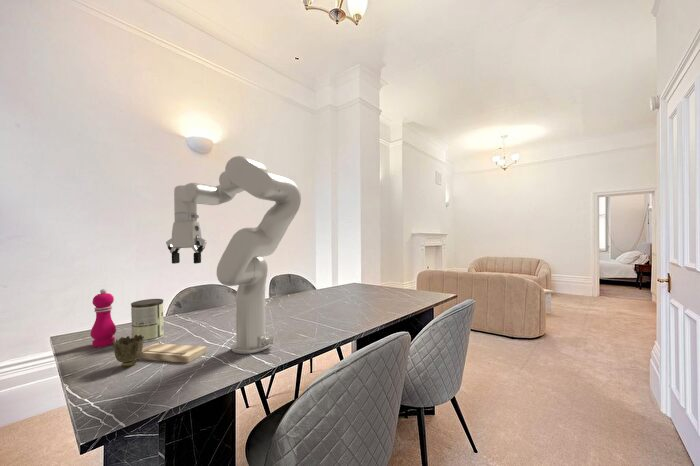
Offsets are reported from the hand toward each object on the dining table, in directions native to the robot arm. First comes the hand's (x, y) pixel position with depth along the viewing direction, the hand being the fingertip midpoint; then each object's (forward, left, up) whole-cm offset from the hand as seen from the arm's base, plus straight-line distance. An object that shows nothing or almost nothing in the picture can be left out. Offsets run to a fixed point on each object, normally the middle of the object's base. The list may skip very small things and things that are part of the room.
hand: (186, 263), depth 114 cm
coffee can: (+15, +3, -28) cm, 32 cm away
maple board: (-8, +16, -28) cm, 33 cm away
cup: (-1, +25, -28) cm, 38 cm away
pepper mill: (+26, +11, -28) cm, 40 cm away
